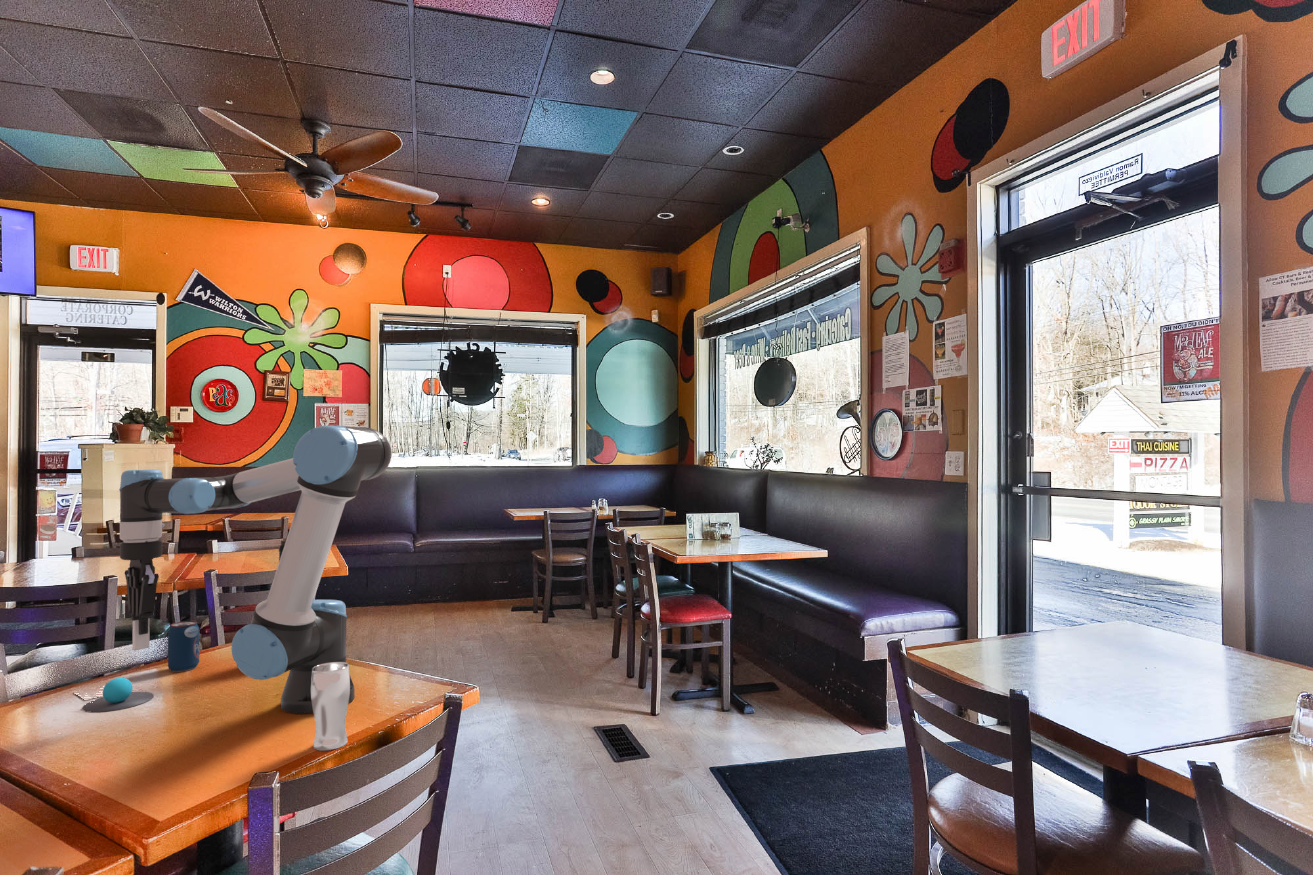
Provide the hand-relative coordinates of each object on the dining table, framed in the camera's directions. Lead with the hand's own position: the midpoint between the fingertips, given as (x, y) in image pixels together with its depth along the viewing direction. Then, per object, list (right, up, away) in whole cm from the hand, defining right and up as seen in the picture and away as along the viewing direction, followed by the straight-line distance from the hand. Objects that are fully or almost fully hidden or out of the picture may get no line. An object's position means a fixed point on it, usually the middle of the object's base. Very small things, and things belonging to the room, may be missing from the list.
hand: (141, 648), depth 156 cm
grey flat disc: (-11, -15, +8) cm, 20 cm away
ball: (-11, -12, +8) cm, 18 cm away
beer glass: (+49, -14, -17) cm, 54 cm away
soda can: (-13, -16, +34) cm, 39 cm away
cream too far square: (-20, -15, +16) cm, 30 cm away
